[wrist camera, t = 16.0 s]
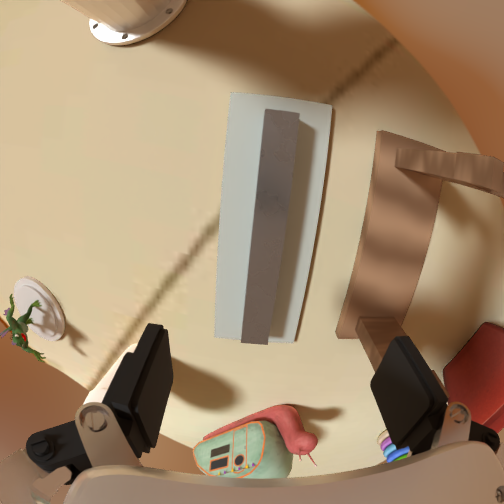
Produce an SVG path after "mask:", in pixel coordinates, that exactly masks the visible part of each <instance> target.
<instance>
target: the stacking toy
mask: <svg viewBox="0 0 504 504" xmlns="http://www.w3.org/2000/svg"><path fill="white" fill-rule="evenodd" d="M377 443H378V444H379V445H381V450H383V451H384V453H383V454H384V456H385V457H386V458H387V462H388V463H389V462H393V461H396V460H400V459H403V458H406V457H407V455H408V452H409V450H410V449H409V446H407V447H406V448H403V449H399V450H397V449H396V446H395V445H394V444H392V442H391V439H390V436H389V434H388V431H387V430H386V431H384V432H383V433H382V434H381V435H380V436H379V437H378V439H377Z"/></svg>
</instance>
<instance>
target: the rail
mask: <svg viewBox="0 0 504 504" xmlns="http://www.w3.org/2000/svg"><path fill="white" fill-rule="evenodd" d="M299 117H300V113H296V112H289V111H282V110H274V109H265V112H264V118H263V128H262V137H261V147H260V156H259V166H258V175H257V185H256V194H255V204H254V214H253V223H252V233H251V243H250V252H249V262H248V272H247V282H246V291H245V301H244V311H243V321H242V333H241V343H251V344H264V345H268V339H269V333H270V327H271V321H272V316H273V310H274V303H275V297H276V291H277V285H278V278H279V272H280V265H281V259H282V252H283V245H284V238H285V231H286V224H287V217H288V210H289V202H290V194H291V187H292V179H293V171H294V162H295V154H296V145H297V136H298V127H299Z"/></svg>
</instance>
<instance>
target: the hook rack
mask: <svg viewBox="0 0 504 504" xmlns="http://www.w3.org/2000/svg"><path fill="white" fill-rule="evenodd" d="M503 168H504V162H502V161H500V160H499V159H497V158H495V157H491V156H485V155H478V154H471V153H463V152H457V153H451V152H446V151H443V150H440V149H438V148H435V147H433V146H430V145H427V144H424V143H421V142H418V141H416V140H413V139H410V138H406V137H403V136H400V135H397V134H394V133H390V132H387V131H383V130H382V131H377V135H376V144H375V153H374V161H373V168H372V175H371V182H370V188H369V195H368V200H367V206H366V212H365V217H364V222H363V227H362V232H361V237H360V241H359V246H358V250H357V255H356V259H355V263H354V267H353V271H352V275H351V279H350V283H349V287H348V290H347V294H346V298H345V301H344V305H343V308H342V312H341V315H340V318H339V322H338V325H337V328H336V331H335V332H336V335H337V337H338V339H360V341H361V343H362V345H363V347H364V349H365V352H366V354H367V356H368V358H369V360H370V362H371V364H372V366H373V369H374V371H375V373H376V371H377V369H378V367H379V365H380V363H381V361H382V359H383V357H384V355H385V353H386V351H387V349H388V346H389V344H390V342H391V341H392V340H393V339H394V338H395V337H396V336H407V335H406V333H405V332H404V331H403V329H402V328H401V325H402V323H403V320H404V318H405V315H406V313H407V310H408V308H409V305H410V302H411V299H412V297H413V294H414V291H415V288H416V285H417V282H418V279H419V276H420V273H421V270H422V267H423V263H424V260H425V257H426V253H427V250H428V246H429V242H430V238H431V234H432V230H433V226H434V222H435V217H436V213H437V208H438V203H439V197H440V192H441V186H442V180H446V181H450V182H454V183H457V184H461V185H464V186H468V187H471V188H475V189H478V190H481V191H485V192H488V193H491V194H494V195H496V196H499V197H502V198H504V172H503ZM431 371H432V373H433V374H434V376H435V377H436V379H437V381H438V382H439V384H440V386H441V387H442V389H443V391H444V392H445V394H446V396H447V397H448V398H449V396H450V395H449V394H448V392H447V390H446V389H445V387H444V386H443V384H442V382H441V381H440V379H439V378H438V376H437V374H436V373H435V371H434V370H431Z"/></svg>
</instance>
